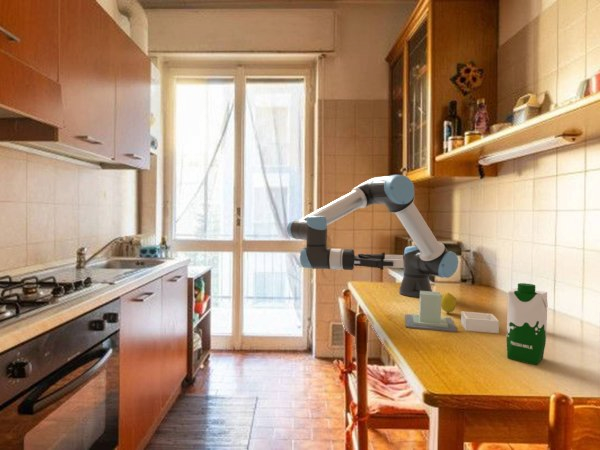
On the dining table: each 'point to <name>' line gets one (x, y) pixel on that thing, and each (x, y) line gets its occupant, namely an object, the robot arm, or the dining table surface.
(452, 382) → the dining table surface
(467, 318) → the open box
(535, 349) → the milk carton
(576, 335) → the dining table surface
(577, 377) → the dining table surface
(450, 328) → the mat
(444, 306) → the lemon
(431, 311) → the lid
